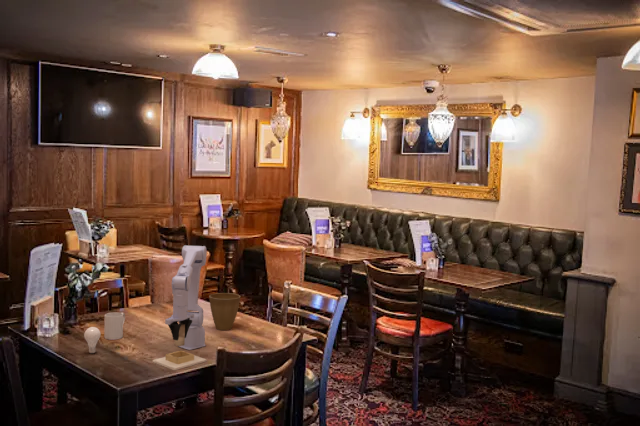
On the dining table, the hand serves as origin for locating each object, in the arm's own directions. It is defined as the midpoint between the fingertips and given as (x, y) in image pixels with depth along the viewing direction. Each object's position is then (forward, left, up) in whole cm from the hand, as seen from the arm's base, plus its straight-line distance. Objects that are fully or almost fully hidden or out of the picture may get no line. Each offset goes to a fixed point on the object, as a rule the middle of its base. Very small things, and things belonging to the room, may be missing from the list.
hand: (179, 338), depth 261 cm
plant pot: (-47, -26, -10) cm, 54 cm away
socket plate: (0, 0, -9) cm, 9 cm away
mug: (-2, -48, -10) cm, 49 cm away
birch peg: (0, 0, -2) cm, 2 cm away
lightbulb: (+19, -33, -10) cm, 39 cm away
